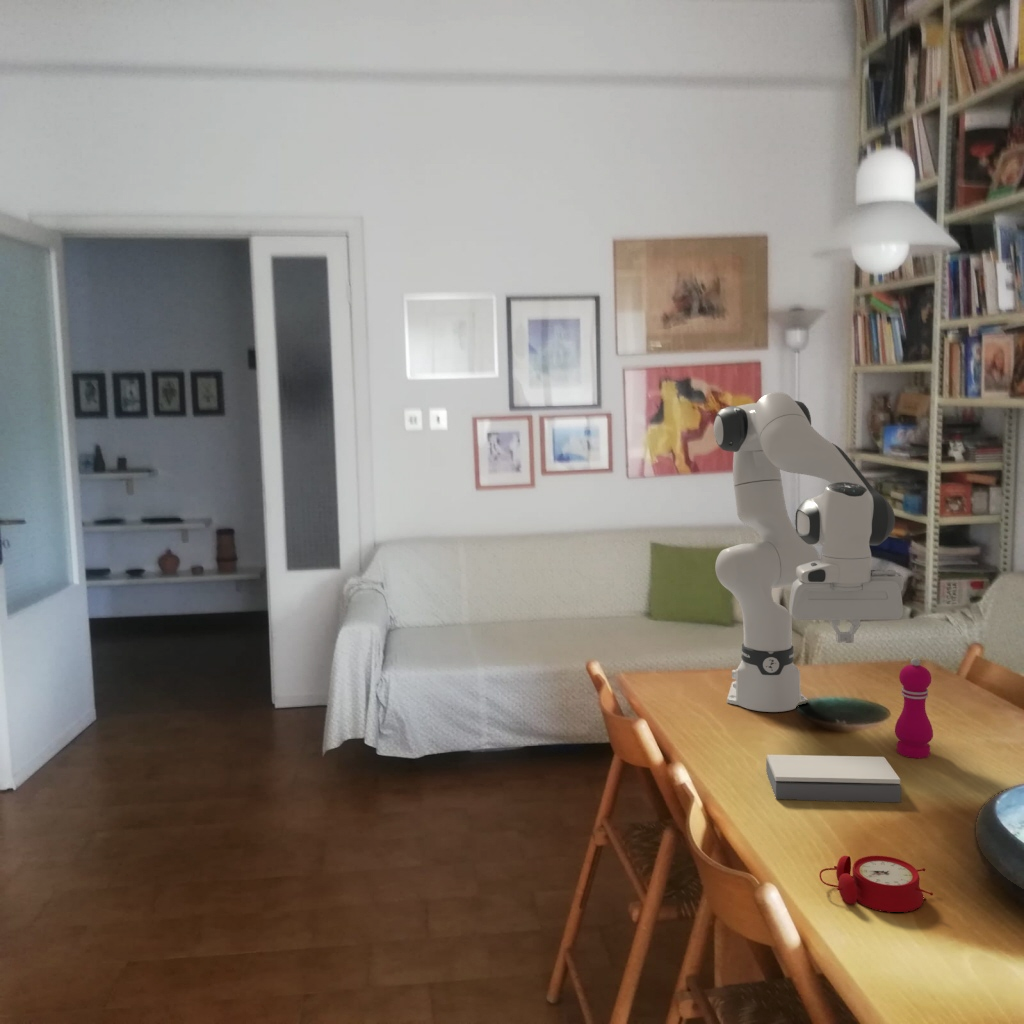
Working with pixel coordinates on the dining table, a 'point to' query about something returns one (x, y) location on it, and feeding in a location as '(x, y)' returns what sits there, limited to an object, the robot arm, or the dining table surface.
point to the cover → (832, 769)
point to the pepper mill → (914, 712)
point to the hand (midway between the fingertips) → (844, 642)
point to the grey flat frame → (834, 790)
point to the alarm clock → (879, 883)
